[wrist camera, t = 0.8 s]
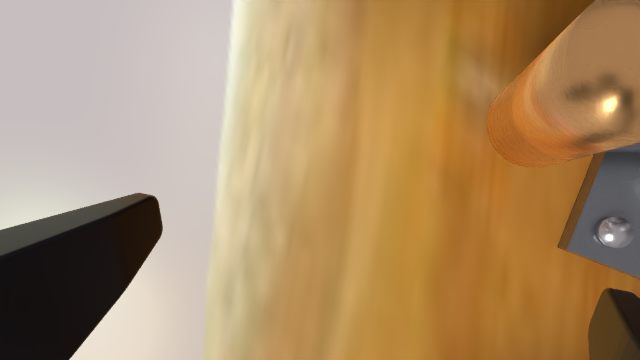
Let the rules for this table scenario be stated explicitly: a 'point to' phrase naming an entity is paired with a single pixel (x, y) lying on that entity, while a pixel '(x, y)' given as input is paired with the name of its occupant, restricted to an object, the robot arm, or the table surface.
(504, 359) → the table surface
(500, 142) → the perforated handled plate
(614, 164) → the base plate
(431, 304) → the table surface
